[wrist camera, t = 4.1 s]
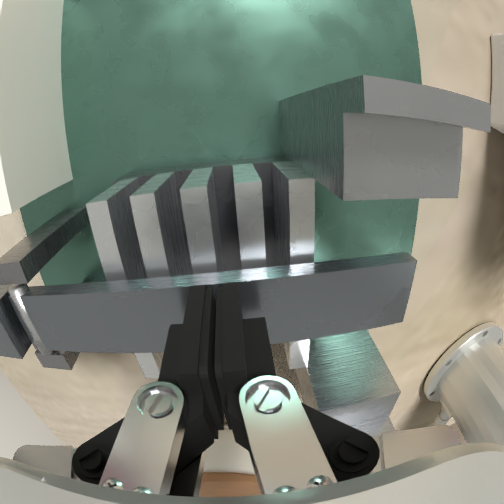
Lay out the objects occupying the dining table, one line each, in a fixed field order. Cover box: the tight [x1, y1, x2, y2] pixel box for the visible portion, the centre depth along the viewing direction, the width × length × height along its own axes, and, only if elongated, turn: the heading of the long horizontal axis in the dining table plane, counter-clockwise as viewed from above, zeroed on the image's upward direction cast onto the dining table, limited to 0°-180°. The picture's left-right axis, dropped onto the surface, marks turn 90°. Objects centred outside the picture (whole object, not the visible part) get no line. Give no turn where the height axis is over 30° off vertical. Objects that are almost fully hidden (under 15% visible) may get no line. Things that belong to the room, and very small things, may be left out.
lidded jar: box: [199, 425, 261, 497], centre depth 24 cm, size 11×11×9 cm
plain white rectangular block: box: [0, 0, 73, 216], centre depth 9 cm, size 12×4×6 cm, turn 4°
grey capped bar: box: [0, 252, 417, 359], centre depth 11 cm, size 4×22×2 cm, turn 94°
